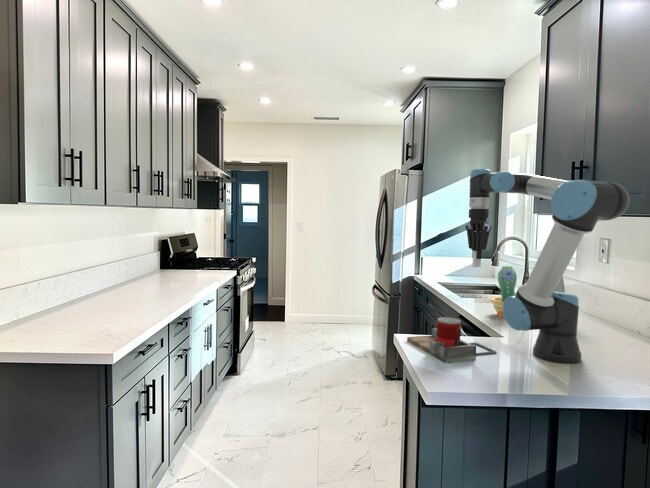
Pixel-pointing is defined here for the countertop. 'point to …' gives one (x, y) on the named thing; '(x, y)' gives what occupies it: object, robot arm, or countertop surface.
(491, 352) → the frame
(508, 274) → the potted cactus
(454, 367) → the countertop surface
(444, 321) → the canned food
